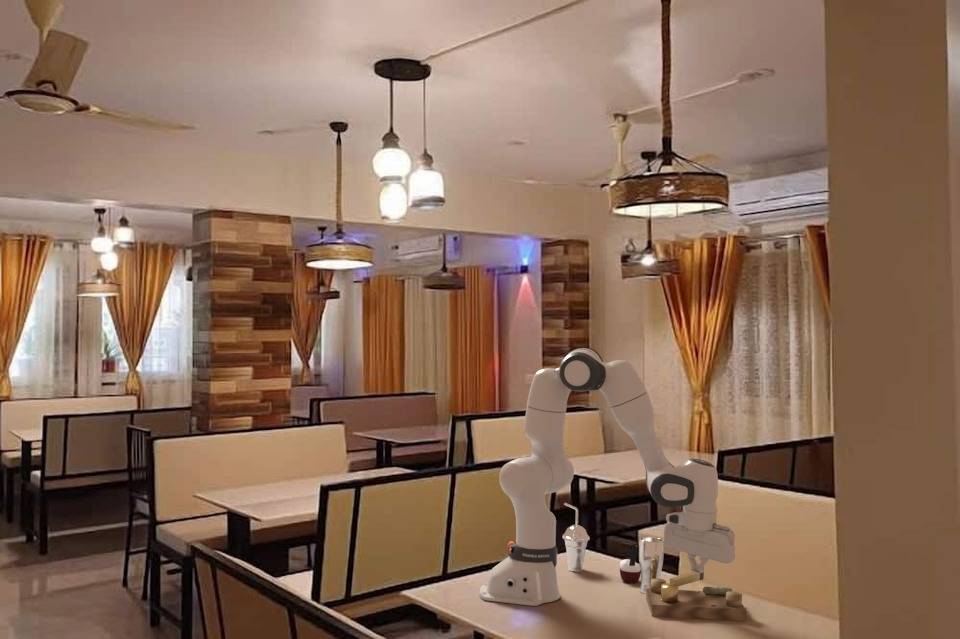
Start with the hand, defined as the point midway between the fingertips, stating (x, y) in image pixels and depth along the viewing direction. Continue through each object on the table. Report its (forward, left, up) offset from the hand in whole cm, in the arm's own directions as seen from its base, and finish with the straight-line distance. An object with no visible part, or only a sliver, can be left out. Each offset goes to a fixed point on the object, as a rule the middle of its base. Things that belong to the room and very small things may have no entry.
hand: (697, 571), depth 221 cm
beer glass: (-11, +14, -11) cm, 21 cm away
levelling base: (-1, 0, -10) cm, 10 cm away
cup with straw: (-32, +33, -11) cm, 47 cm away
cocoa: (-16, +23, -11) cm, 30 cm away
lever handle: (-3, +2, -7) cm, 8 cm away
